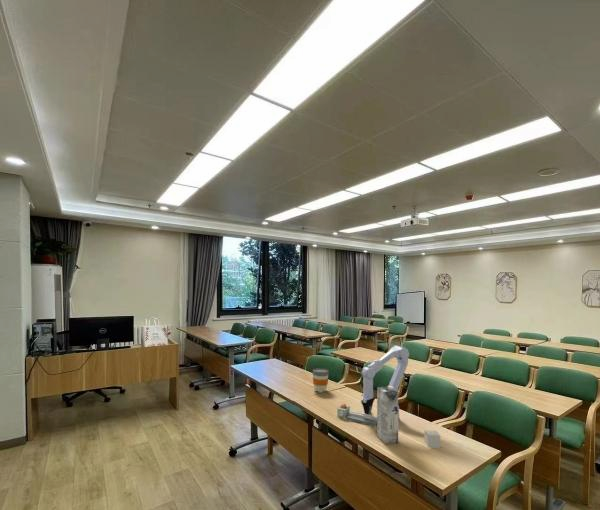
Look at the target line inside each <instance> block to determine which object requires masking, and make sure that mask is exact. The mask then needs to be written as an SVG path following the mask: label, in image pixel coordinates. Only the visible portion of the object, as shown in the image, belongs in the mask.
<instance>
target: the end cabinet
mask: <svg viewBox="0 0 600 510" xmlns="http://www.w3.org/2000/svg"><path fill="white" fill-rule="evenodd" d="M350 408H351V406H350V405H347V404H346V409H344V408H341V405H340V406H338V408H337V413H336V415H337V418H340V417H342V418H341V419H344V418H345V417H346V416H347V415H348V414H349V412H351V411H350V410H351V409H350Z"/></svg>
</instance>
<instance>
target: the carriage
mask: <svg viewBox="0 0 600 510" xmlns="http://www.w3.org/2000/svg"><path fill="white" fill-rule="evenodd" d="M362 414H363V418H366V419H371V420H372V417H373V416H374V412H372V410H371V406H370V407H369V413H368V414H365V413H364V412H363V413H362Z"/></svg>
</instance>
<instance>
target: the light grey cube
mask: <svg viewBox="0 0 600 510" xmlns="http://www.w3.org/2000/svg"><path fill="white" fill-rule="evenodd" d="M423 431H424V443H425V445H426V446H427V447H428V448H429V447H432V448H431V449H441V445H442V444H441V435H440V434H439V432H438V431H437V430H436V429H435V430H433V429H424V430H423Z"/></svg>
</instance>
